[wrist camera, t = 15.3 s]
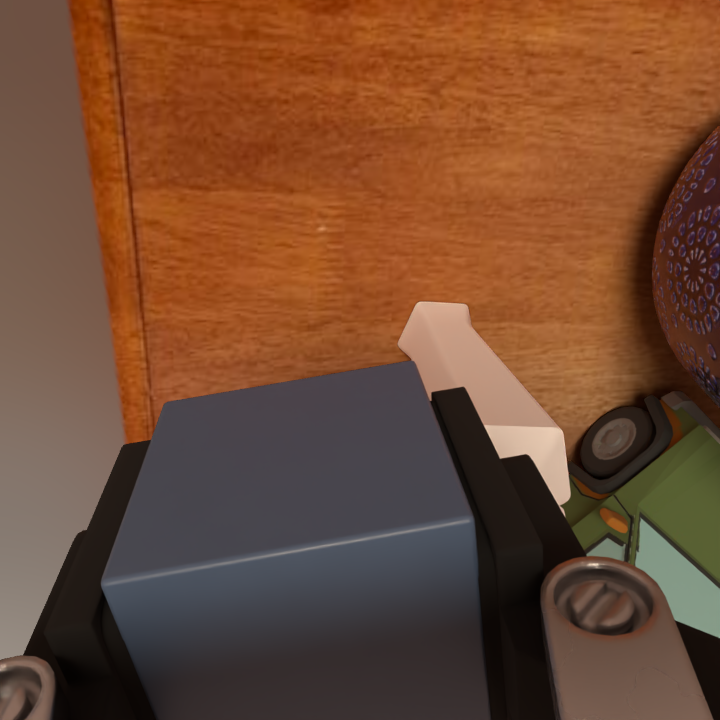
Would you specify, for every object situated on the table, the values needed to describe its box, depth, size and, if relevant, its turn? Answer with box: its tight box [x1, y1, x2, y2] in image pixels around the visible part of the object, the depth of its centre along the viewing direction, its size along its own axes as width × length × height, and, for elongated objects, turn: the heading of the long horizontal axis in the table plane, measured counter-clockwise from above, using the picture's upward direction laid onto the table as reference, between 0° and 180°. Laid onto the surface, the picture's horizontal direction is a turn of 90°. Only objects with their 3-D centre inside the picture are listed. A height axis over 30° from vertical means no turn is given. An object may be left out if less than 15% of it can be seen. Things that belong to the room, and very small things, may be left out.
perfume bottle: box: [398, 302, 571, 516], centre depth 27 cm, size 5×4×15 cm
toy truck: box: [560, 391, 720, 638], centre depth 35 cm, size 11×21×10 cm, turn 136°
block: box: [101, 361, 491, 720], centre depth 10 cm, size 4×4×4 cm
